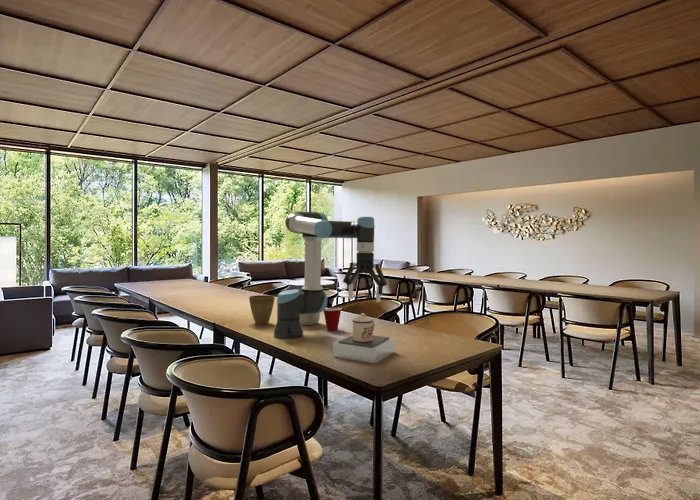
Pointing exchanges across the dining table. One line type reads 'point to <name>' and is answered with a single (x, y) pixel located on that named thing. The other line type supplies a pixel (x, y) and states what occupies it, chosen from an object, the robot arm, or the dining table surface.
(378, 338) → the white flat block
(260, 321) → the plant pot
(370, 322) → the teacup with lid
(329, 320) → the plastic cup
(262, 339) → the dining table surface
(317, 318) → the canister
